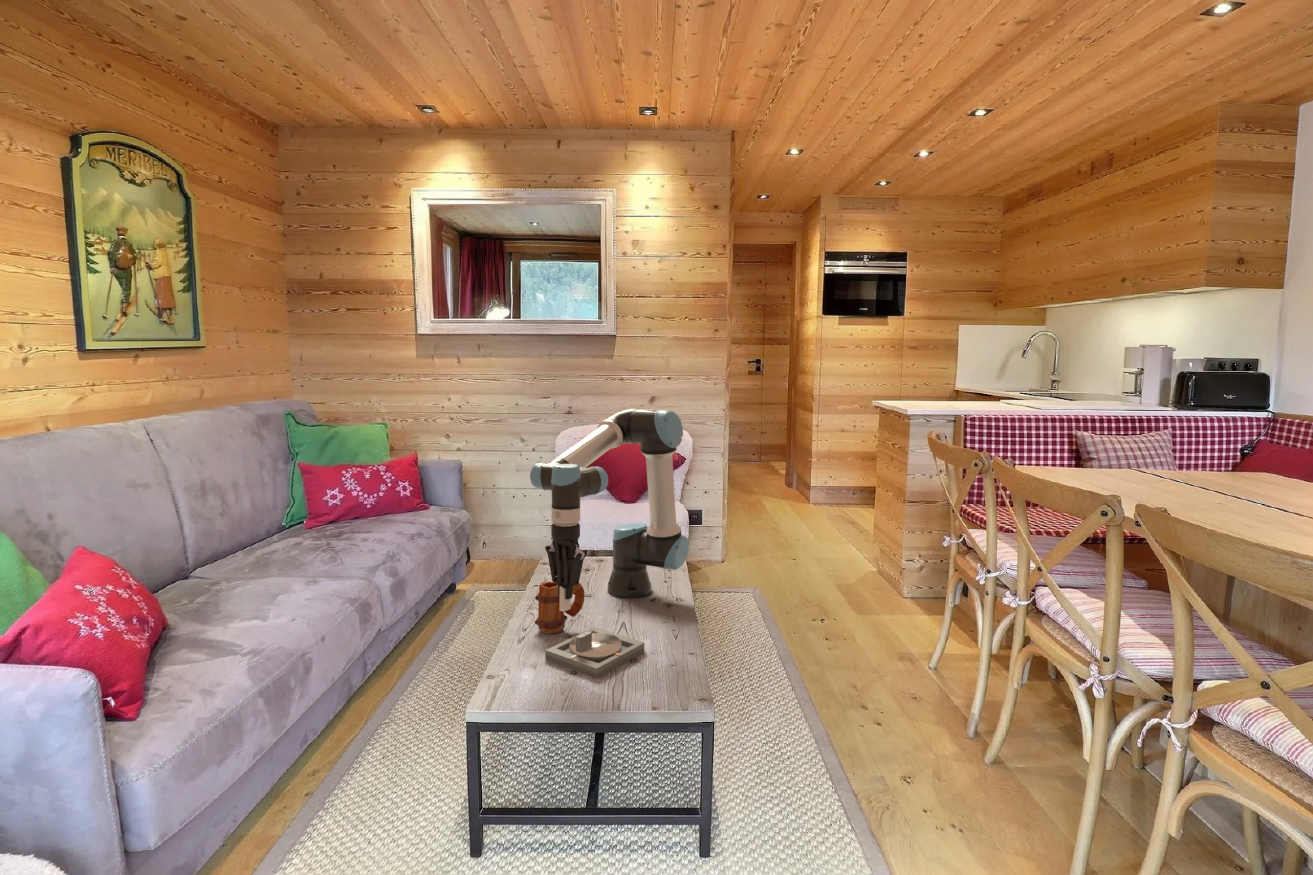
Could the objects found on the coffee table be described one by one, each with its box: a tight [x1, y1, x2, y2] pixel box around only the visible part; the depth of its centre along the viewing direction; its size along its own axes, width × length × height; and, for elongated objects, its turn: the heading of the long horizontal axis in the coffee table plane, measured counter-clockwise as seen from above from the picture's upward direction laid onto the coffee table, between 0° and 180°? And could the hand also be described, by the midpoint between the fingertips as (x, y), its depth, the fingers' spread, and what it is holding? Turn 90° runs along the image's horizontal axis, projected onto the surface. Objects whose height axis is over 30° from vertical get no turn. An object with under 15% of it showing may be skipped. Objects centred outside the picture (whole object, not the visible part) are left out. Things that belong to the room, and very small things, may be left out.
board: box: [544, 626, 645, 680], centre depth 185 cm, size 20×18×3 cm
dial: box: [570, 630, 622, 662], centre depth 185 cm, size 14×14×6 cm
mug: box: [534, 581, 586, 635], centre depth 202 cm, size 15×8×15 cm, turn 105°
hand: (565, 609), depth 183 cm, fingers closed
